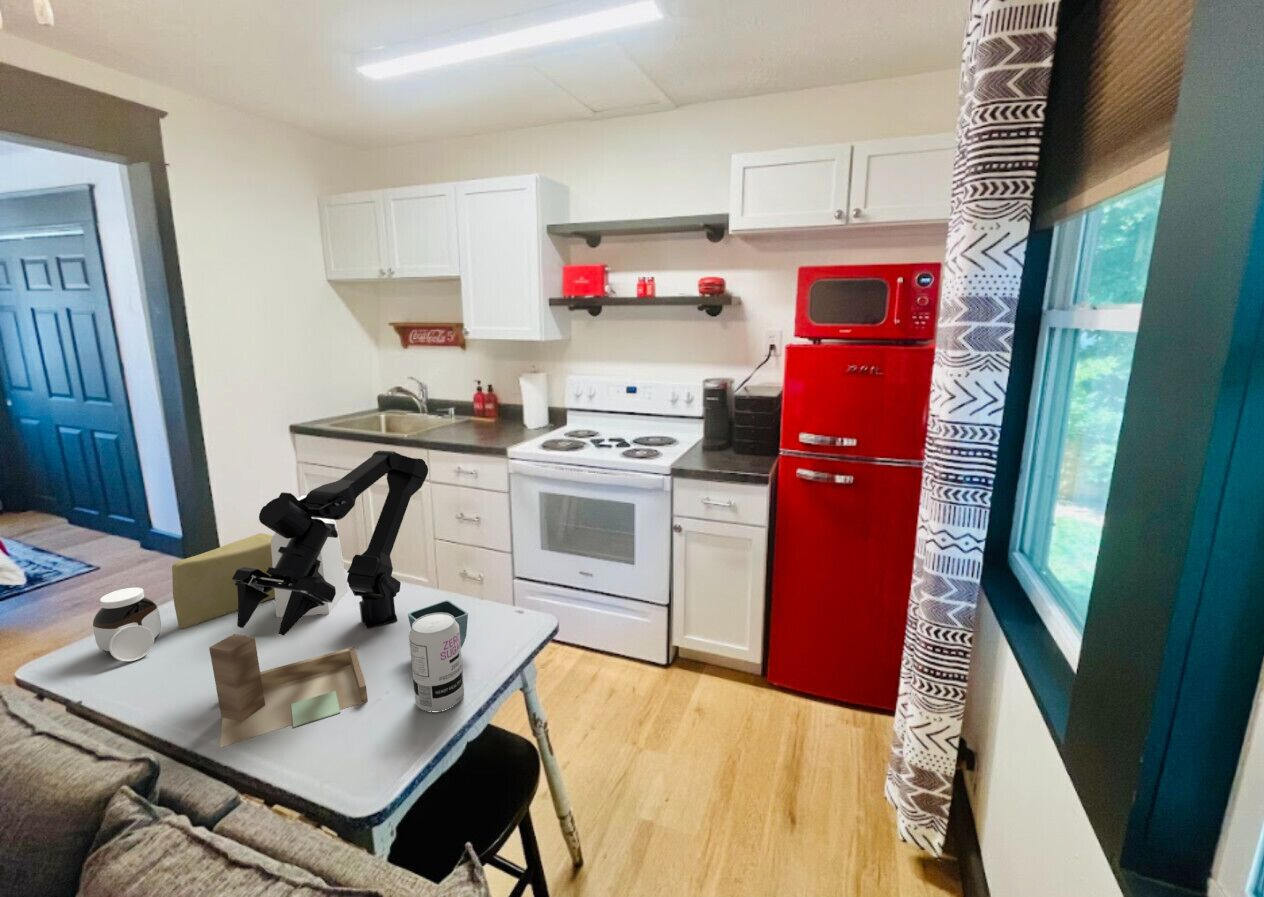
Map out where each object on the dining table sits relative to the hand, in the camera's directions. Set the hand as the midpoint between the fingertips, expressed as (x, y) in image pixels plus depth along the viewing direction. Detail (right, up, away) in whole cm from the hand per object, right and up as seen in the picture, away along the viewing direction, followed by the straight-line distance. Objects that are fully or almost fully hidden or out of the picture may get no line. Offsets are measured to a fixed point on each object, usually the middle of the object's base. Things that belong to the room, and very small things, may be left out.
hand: (260, 631), depth 104 cm
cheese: (-29, -6, +36) cm, 46 cm away
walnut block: (-1, -13, -2) cm, 13 cm away
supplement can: (+31, -13, +1) cm, 34 cm away
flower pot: (+27, -10, +16) cm, 32 cm away
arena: (+6, -13, +1) cm, 14 cm away
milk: (-11, -5, +38) cm, 39 cm away
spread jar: (-37, -10, +18) cm, 43 cm away
